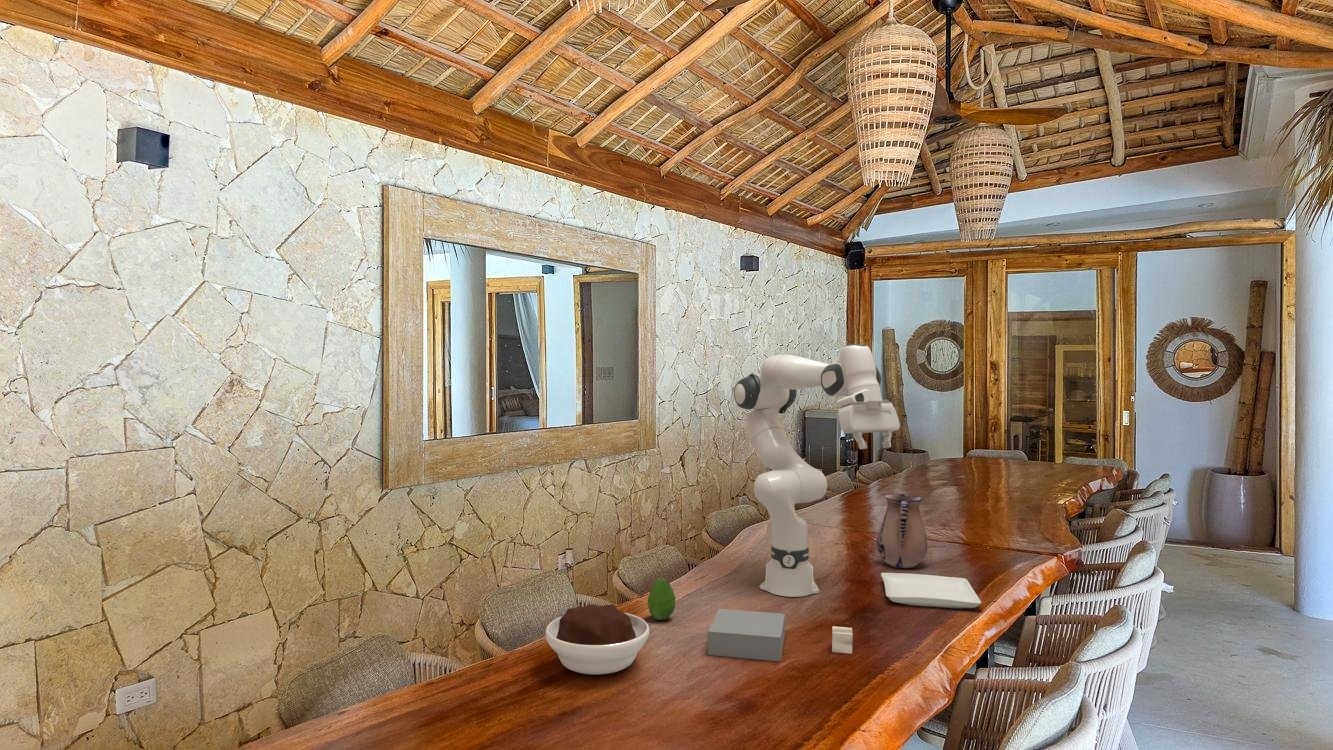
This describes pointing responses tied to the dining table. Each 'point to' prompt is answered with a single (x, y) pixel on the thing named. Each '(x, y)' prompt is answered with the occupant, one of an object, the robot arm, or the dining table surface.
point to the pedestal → (747, 635)
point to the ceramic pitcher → (902, 532)
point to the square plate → (930, 590)
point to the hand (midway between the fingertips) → (875, 448)
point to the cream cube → (842, 639)
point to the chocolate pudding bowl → (597, 638)
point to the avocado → (661, 599)
